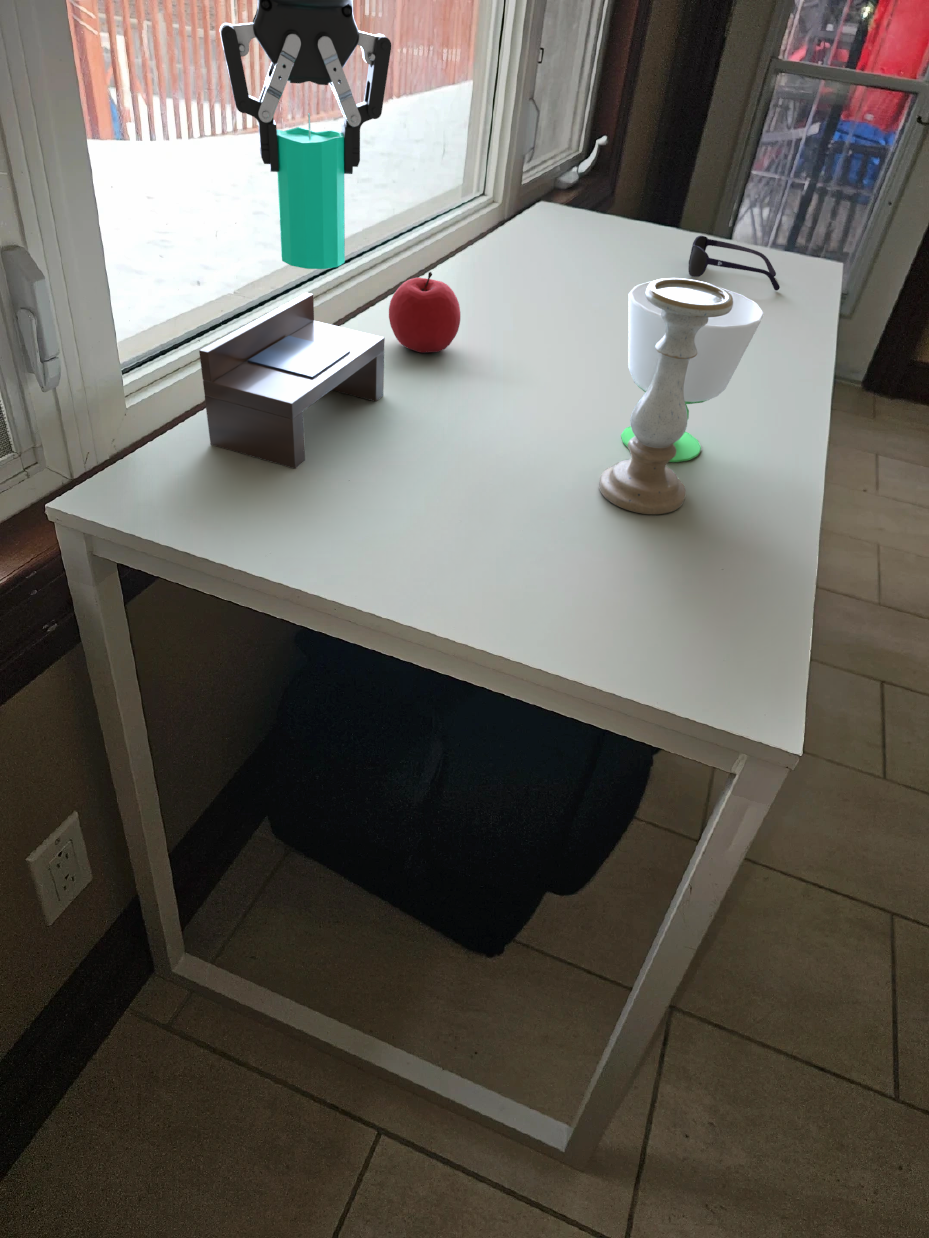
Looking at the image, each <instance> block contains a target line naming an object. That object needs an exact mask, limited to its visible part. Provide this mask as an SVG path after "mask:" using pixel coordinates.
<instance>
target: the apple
mask: <svg viewBox="0 0 929 1238" xmlns="http://www.w3.org/2000/svg"><path fill="white" fill-rule="evenodd" d="M432 276H433V273H432V271H428V276H427V278H426V277H425V278H424V277H413V278H410V279H408V280H405V281H404V282H403V283H402V284H401V285H399V287H398V288H397V289H396V290H395V292H394V293H393V295H392V297H391V299H390V301H389V306H388V320H389V325H390V327H391V330H392V333H393V335H394V337H395V339H396V340H397V341H398V342H399V343H400V344H401V346H403V347H405V348H406V349H409V350H412V351H414V352H416V353H420V354H422V353H423V354H424V353H439V352H441V351H443V350H445V349H447V348H448V347H449V346H450V345H451V343H452V342H453V341H454V339H455V338H456V337H457V334H458V333H459V329H460V325H461V307H460V303H459V300H458V297H457V296H456V293H455V292H454V290H453V289H452V288H451V287H450V285H449V284H447V283H446V282H443V281H441V280H437V279H432V278H431V277H432Z"/></svg>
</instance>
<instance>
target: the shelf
mask: <svg viewBox="0 0 929 1238" xmlns="http://www.w3.org/2000/svg"><path fill="white" fill-rule="evenodd" d="M314 301H315V300H314V294H313V293H309V292H304V293H302V294H301V295H299V296H297V297H295V298H293V299H291V300H290V301H287V302H286V303H284V304H281V305H280V306H278V307H276V308H274V309H273V310H271V311H269V312H267V313H265V314H263V315H262V316H260V317H258V318H256V319H254V320H253V321H251V322H249V323H246V324H245V325H243V326H241V327H239V328H237V329H236V330H234V331H232V332H231V333H228V334H227V335H225V336H223V337H221V338H220V339H217V340H215V341H214V342H212V343H210V344H208V345H206V346H204V347H202V348H201V349H199V351H198V353H199V363H200V368H201V375H202V376H201V377H202V386H203V394H204V401H205V402H204V403H205V410H206V411H205V413H206V419H207V427H208V436H209V443H210V445H211V446H214V447H218V448H221V449H225V450H229V451H232V452H235V453H239V454H242V455H245V456H249V457H252V458H257V459H260V460H263V461H266V462H270V463H274V464H277V465H280V466H284V467H288V468H290V469H297V468H298V467H299V466H301V465H302V464H303V463H304V462H306V445H305V443H306V442H305V422H304V421H305V420H304V411H305V410H307V409H308V408H310V407H311V406H312V405H314V404H315V403H316V402H317V401H319V400H320V399H321V398H323V397H324V396H326V395H327V394H329V392H331V391H334V392H337V393H341V394H345V395H348V396H349V395H350V396H352V397H357V398H360V399H364V400H368V401H372V402H378V401H379V400H380V399H381V398H382V397H384V389H385V387H384V386H385V385H384V384H385V383H384V382H385V337H384V336H381V335H376V334H372V333H368V332H363V331H360V330H355V329H351V328H347V327H342V326H338V325H334V324H330V323H326V322H321V321H318V320H315V307H314V305H315V304H314Z"/></svg>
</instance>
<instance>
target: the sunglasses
mask: <svg viewBox="0 0 929 1238" xmlns="http://www.w3.org/2000/svg"><path fill="white" fill-rule="evenodd" d="M708 246H710V247H717V248H723V249H729V250H736V251H741V252H745V253H750V254H753V255H755V256H758V257H759V258H760V259H762V260H763V261H764V263H765V266H766V267H767V270H765V269H763V268H757V267H753V266H748V265H744V264H740V263H736V262H731V261H726V260H722V259H717V258H712V257H710V256H709V254H708V253H707V252H706V250H707V248H708ZM689 254H690V255H689V260H688V275H689V276H690V277H691V278H698V277H701V276H702V275H703V274H704V273H705V272H706V270H707V267H708V265H709V266H713V267H714V266H715V267H720V268H721V267H722V268H727V269H734V270H740V271H748V272H754V273H759V274H762V275H766V276H767V277H768V279H769V281H770V283H771V285H772V287H773V290H774V291H778V290H780V288H781V287H780V284H779V282H778V281H777V279H776V278H775V277H776V275H777V272H776V270H775V268H774V267H773V265H772V262H771V261H770V259H769V258H768V257H767V255H765V254H763V253H762V252H761V251H758V250H755V249H752V248H749V247H746V246H742V245H740V244H739V245H738V244H735V243H730V242H726V241H722V240H718V239H711V238H708V237H707V236H705V235H698V236H696V237H695V239H694V240H693V242H692V246H691V249H690V253H689Z"/></svg>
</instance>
